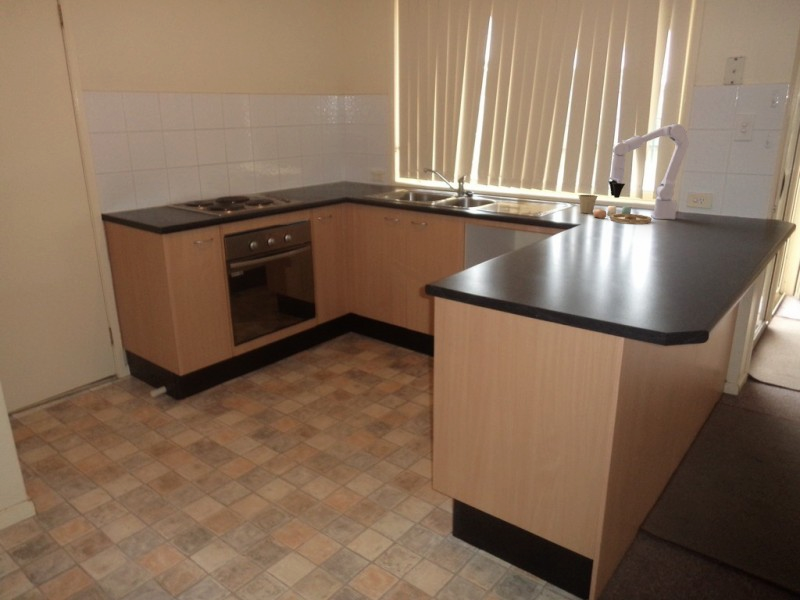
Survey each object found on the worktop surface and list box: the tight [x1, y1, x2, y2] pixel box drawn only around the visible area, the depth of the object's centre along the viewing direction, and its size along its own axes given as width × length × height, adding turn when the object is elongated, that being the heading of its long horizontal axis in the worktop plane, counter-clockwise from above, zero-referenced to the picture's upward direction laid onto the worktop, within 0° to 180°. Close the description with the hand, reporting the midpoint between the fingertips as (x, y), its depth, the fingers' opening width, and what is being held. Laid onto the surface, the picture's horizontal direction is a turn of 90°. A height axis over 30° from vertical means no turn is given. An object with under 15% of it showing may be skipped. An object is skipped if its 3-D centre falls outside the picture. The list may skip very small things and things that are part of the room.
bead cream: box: [606, 205, 617, 217], centre depth 298 cm, size 4×4×4 cm
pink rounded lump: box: [592, 208, 607, 219], centre depth 291 cm, size 4×4×4 cm
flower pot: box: [578, 194, 599, 214], centre depth 306 cm, size 9×9×9 cm
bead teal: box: [621, 205, 632, 214], centre depth 297 cm, size 4×4×4 cm
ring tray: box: [609, 213, 653, 225], centre depth 285 cm, size 18×18×2 cm
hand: (615, 196), depth 294 cm, fingers open, 7 cm apart
